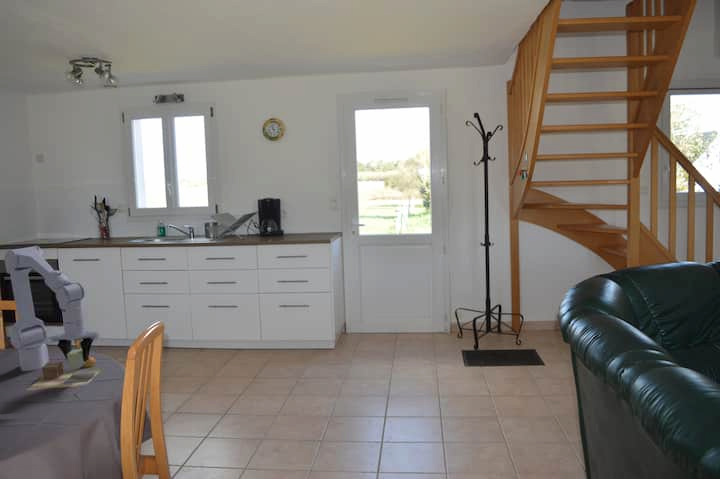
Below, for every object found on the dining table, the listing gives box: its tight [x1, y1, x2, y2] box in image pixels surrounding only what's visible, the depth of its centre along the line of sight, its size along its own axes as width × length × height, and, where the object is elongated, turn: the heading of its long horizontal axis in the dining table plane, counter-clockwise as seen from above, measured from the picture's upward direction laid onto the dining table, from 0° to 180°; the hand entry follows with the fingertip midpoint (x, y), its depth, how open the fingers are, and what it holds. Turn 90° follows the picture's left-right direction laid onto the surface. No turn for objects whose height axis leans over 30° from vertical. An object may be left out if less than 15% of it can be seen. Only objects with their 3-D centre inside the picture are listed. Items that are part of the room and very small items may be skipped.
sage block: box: [66, 348, 88, 367], centre depth 176 cm, size 4×4×4 cm
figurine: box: [73, 339, 97, 368], centre depth 188 cm, size 8×6×12 cm
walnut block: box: [41, 361, 65, 379], centre depth 180 cm, size 4×4×4 cm
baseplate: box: [26, 368, 103, 391], centre depth 177 cm, size 14×18×1 cm
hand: (78, 361), depth 177 cm, fingers closed on sage block, 4 cm apart
